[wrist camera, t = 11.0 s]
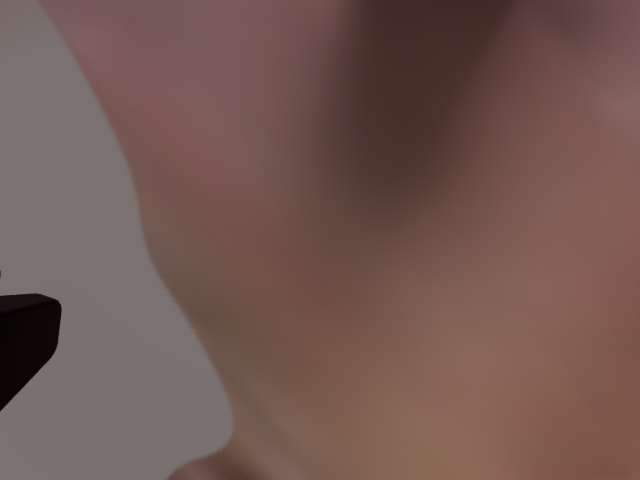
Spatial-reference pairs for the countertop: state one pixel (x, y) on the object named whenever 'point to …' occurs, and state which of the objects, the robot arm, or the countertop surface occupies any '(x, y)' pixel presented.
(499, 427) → the countertop surface
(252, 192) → the countertop surface
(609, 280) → the countertop surface
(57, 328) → the robot arm
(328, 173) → the countertop surface
